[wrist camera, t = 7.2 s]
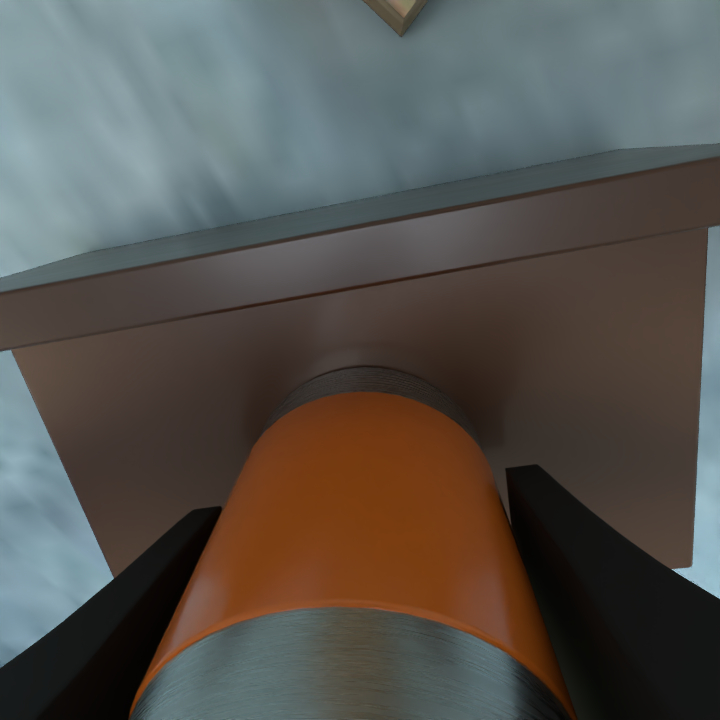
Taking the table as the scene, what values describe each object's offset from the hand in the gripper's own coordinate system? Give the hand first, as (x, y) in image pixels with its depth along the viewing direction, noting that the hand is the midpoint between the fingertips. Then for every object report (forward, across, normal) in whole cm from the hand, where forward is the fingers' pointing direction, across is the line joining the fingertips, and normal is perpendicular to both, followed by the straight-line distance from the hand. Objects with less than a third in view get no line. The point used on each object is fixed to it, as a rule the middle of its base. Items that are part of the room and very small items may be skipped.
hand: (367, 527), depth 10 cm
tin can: (+2, 0, 0) cm, 2 cm away
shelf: (+6, 0, -1) cm, 6 cm away
